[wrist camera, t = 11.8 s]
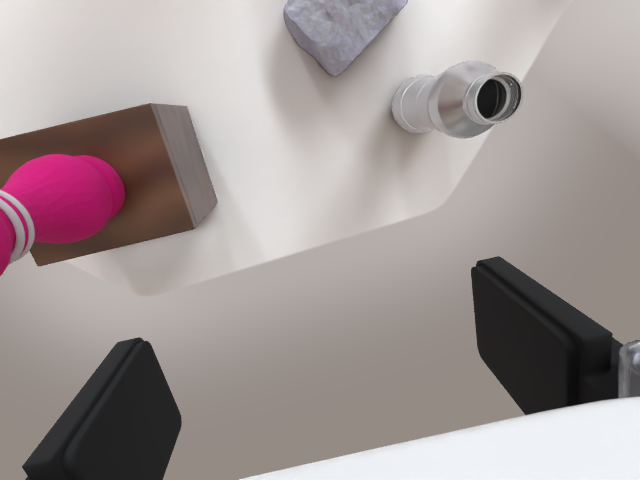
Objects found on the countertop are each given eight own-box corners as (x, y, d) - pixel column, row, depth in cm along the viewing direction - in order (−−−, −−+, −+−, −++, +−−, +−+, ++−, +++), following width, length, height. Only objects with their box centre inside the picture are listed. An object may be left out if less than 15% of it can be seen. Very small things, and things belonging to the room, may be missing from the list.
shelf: (56, 137, 45) (-26, 145, 33) (186, 106, 45) (150, 103, 33) (97, 230, 49) (37, 266, 37) (217, 201, 49) (194, 229, 37)
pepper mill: (82, 238, 37) (-142, 371, 18) (32, 171, 34) (-288, 241, 15) (146, 205, 36) (-14, 306, 17) (100, 135, 34) (-145, 162, 15)
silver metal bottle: (382, 85, 46) (447, 64, 27) (436, 70, 45) (540, 38, 27) (393, 138, 48) (460, 154, 29) (444, 124, 48) (546, 130, 29)
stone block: (276, 26, 44) (337, 87, 45) (269, 7, 39) (337, 76, 40) (347, -57, 43) (409, 8, 43) (349, -87, 38) (418, -13, 38)
